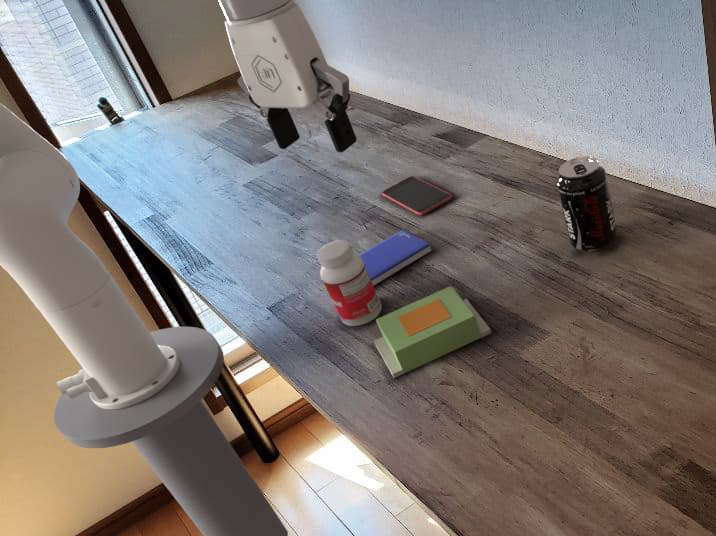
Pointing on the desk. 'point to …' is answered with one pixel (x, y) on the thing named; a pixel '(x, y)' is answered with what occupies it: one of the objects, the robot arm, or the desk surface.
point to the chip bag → (428, 330)
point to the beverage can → (586, 204)
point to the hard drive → (393, 255)
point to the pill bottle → (348, 284)
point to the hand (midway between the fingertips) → (318, 145)
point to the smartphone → (417, 195)
